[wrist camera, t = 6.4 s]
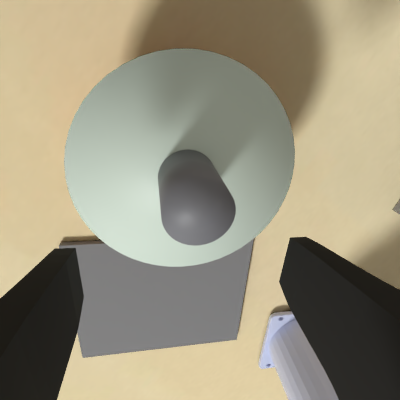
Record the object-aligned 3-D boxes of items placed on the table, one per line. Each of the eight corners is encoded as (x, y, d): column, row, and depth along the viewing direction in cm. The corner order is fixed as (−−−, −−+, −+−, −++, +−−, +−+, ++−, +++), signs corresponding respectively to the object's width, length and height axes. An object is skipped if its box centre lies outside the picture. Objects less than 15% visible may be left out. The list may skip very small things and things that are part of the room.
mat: (252, 232, 22) (254, 235, 21) (235, 335, 27) (236, 339, 27) (60, 242, 19) (59, 245, 19) (83, 353, 25) (82, 357, 24)
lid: (310, 59, 13) (381, 60, 9) (267, 253, 18) (301, 308, 14) (49, 37, 11) (-5, 26, 7) (83, 262, 16) (63, 330, 12)
